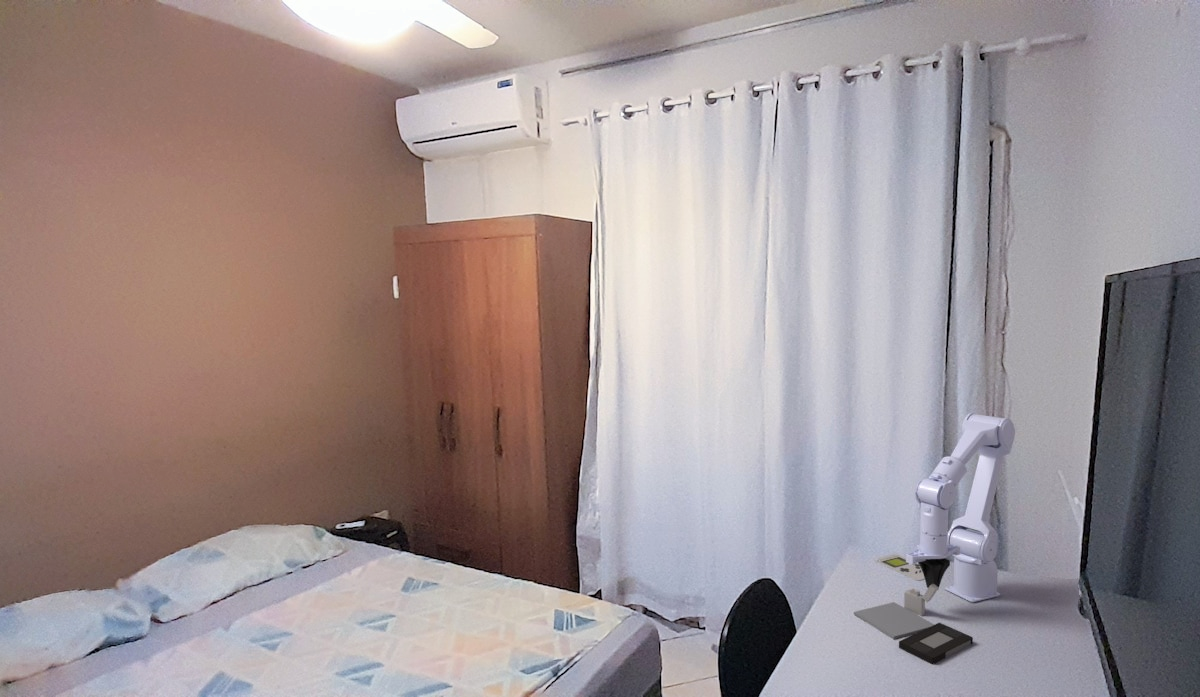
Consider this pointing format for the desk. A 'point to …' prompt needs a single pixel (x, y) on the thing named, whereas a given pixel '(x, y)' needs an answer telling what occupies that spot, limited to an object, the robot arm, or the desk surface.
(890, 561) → the handheld gaming device
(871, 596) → the desk surface
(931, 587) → the lighter
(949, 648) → the vhs tape
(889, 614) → the mat
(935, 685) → the desk surface
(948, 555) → the robot arm
